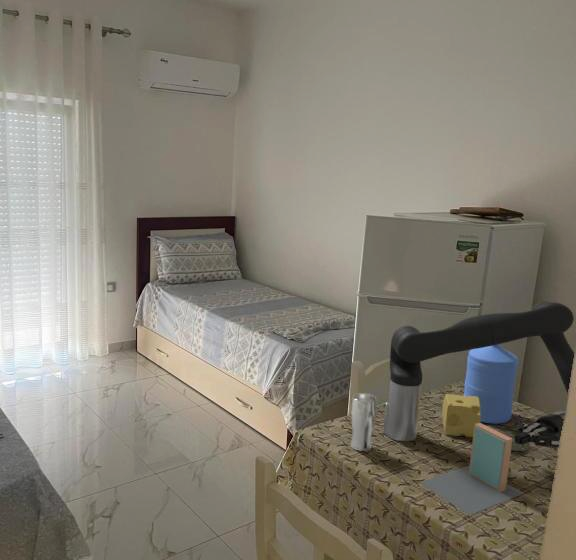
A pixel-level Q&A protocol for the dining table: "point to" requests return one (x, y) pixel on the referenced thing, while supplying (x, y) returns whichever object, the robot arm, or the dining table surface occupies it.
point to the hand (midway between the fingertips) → (517, 440)
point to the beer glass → (362, 420)
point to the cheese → (460, 414)
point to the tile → (490, 456)
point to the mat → (468, 491)
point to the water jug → (492, 382)
